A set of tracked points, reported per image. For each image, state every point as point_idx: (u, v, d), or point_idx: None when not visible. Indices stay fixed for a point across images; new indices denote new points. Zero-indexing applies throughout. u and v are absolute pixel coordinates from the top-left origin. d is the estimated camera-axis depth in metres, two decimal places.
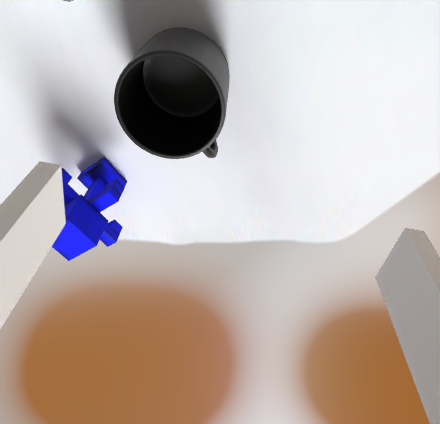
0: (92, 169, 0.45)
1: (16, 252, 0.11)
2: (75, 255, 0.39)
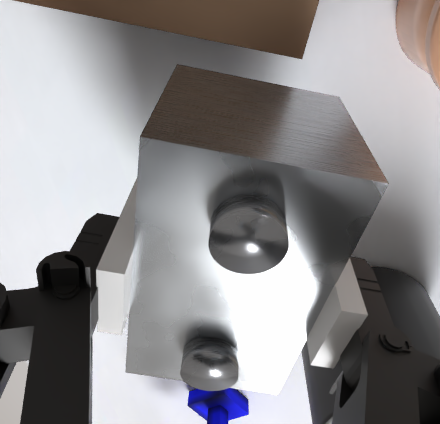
0: (210, 398, 0.34)
1: None
2: None
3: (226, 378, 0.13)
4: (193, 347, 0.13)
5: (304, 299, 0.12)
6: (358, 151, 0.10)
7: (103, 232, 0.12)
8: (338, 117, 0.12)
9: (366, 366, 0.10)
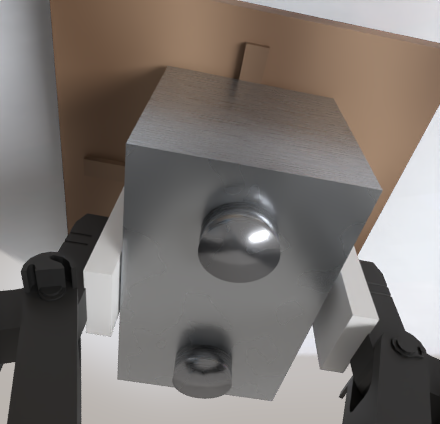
0: None
1: None
2: None
3: (219, 386, 0.13)
4: (186, 355, 0.13)
5: (298, 306, 0.12)
6: (352, 156, 0.10)
7: (93, 233, 0.12)
8: (332, 120, 0.12)
9: (377, 369, 0.09)
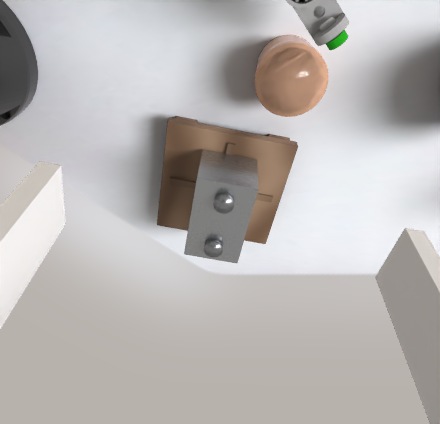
0: None
1: (16, 252, 0.11)
2: None
3: (218, 251, 0.41)
4: (208, 241, 0.41)
5: (242, 223, 0.39)
6: (254, 180, 0.38)
7: None
8: (253, 168, 0.40)
9: None
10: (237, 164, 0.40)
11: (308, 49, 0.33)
